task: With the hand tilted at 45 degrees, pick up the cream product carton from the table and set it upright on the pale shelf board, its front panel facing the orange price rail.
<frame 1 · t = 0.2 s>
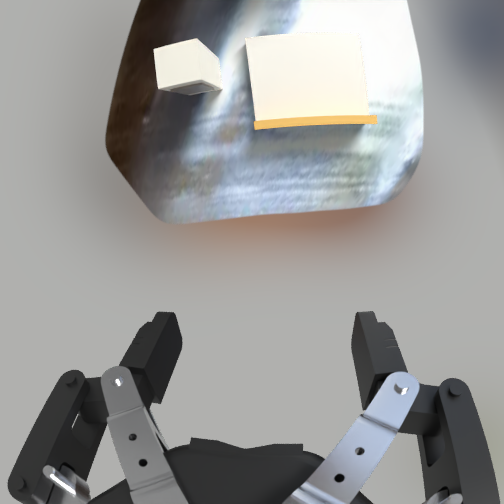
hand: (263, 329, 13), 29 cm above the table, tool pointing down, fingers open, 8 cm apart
shelf board: (307, 79, 33), on the table
product carton: (204, 76, 34), on the table
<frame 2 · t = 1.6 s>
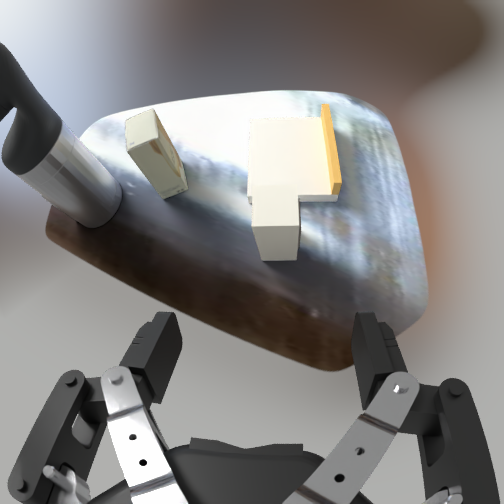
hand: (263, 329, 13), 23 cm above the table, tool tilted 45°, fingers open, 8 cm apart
shelf board: (291, 160, 43), on the table
product carton: (279, 244, 39), on the table
skincare box: (172, 179, 44), on the table
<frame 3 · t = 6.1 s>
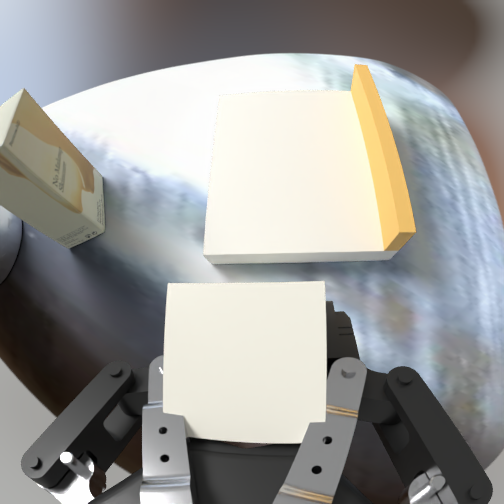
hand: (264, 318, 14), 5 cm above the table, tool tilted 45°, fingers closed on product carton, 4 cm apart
shelf board: (297, 171, 22), on the table
product carton: (270, 356, 18), on the table, touching gripper
skincare box: (86, 211, 23), on the table
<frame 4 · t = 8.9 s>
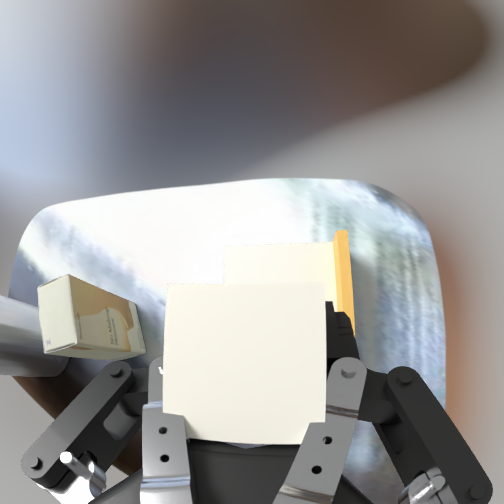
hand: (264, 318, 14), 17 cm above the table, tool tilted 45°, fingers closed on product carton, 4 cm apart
shelf board: (285, 316, 30), on the table
product carton: (270, 357, 18), point 12 cm above the table, touching gripper
skincare box: (126, 331, 32), on the table
when the fingers open (9 cm above the table, at t = 11.8 s): product carton drops 1 cm, resting on shelf board.
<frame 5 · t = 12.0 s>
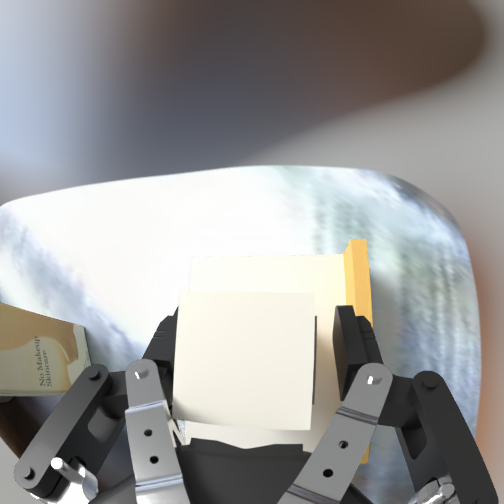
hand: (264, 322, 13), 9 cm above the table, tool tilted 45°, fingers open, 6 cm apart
shelf board: (274, 355, 21), on the table
product carton: (267, 356, 19), point 2 cm above the table, touching shelf board
skincare box: (74, 359, 23), on the table
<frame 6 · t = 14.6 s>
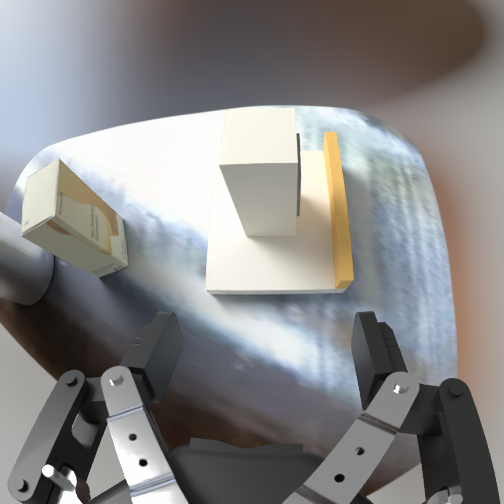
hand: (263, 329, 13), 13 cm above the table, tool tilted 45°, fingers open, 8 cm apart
shelf board: (276, 222, 29), on the table
product carton: (271, 213, 27), point 2 cm above the table, touching shelf board
skincare box: (111, 246, 31), on the table
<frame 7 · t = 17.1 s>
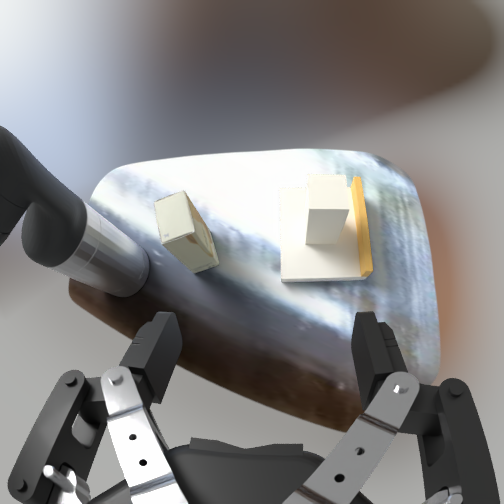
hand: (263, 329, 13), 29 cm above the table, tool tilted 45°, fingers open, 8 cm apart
shelf board: (321, 235, 44), on the table
product carton: (320, 229, 42), point 2 cm above the table, touching shelf board
skincare box: (201, 251, 46), on the table
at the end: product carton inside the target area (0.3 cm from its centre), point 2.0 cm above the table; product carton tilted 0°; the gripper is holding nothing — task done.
